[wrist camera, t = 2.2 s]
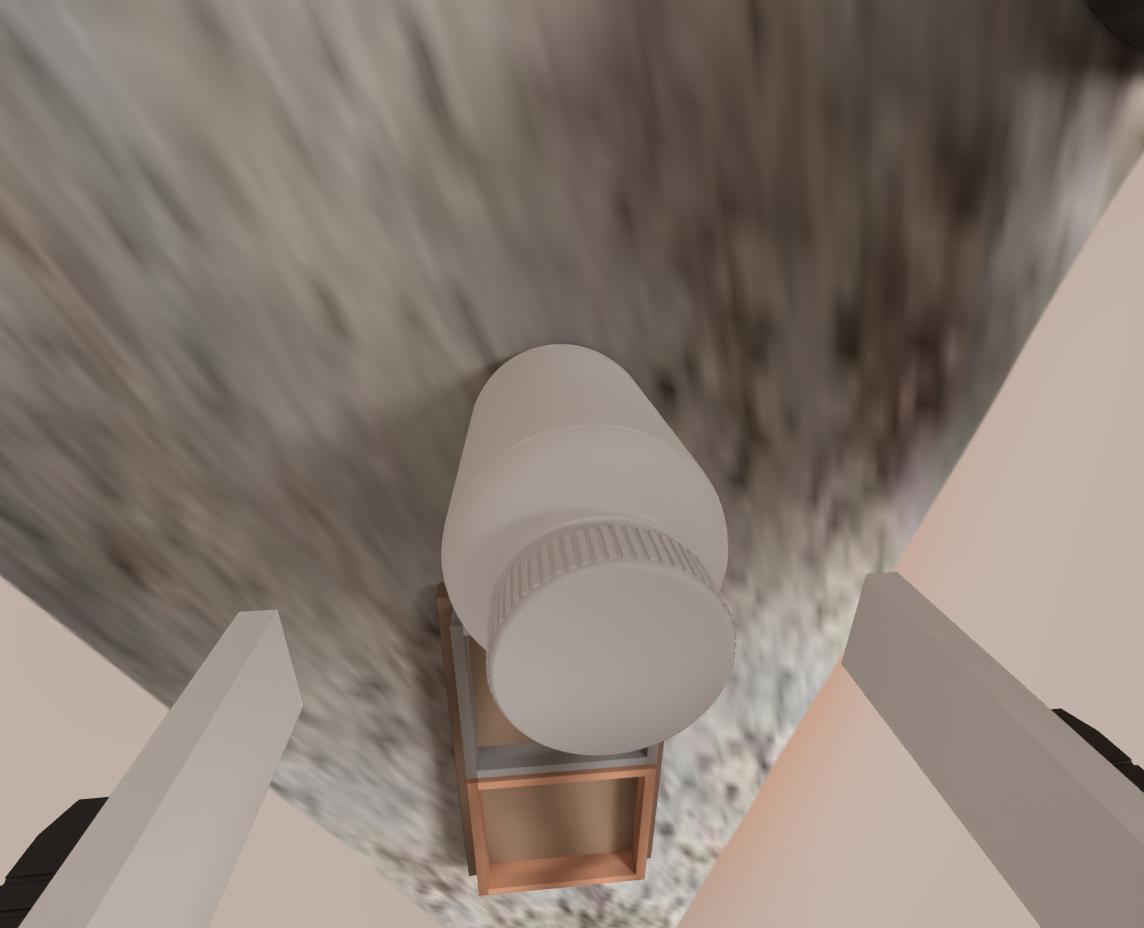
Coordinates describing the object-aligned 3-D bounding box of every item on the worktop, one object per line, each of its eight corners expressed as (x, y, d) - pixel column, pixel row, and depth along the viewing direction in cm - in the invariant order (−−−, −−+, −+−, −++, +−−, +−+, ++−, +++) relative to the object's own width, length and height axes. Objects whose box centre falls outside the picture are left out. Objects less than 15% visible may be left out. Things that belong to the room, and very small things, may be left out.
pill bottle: (667, 362, 24) (866, 547, 10) (615, 515, 27) (715, 815, 13) (491, 316, 22) (452, 464, 9) (457, 484, 25) (387, 788, 12)
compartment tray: (675, 572, 29) (689, 604, 26) (646, 840, 38) (655, 882, 36) (439, 583, 28) (431, 619, 25) (470, 856, 37) (467, 901, 35)
